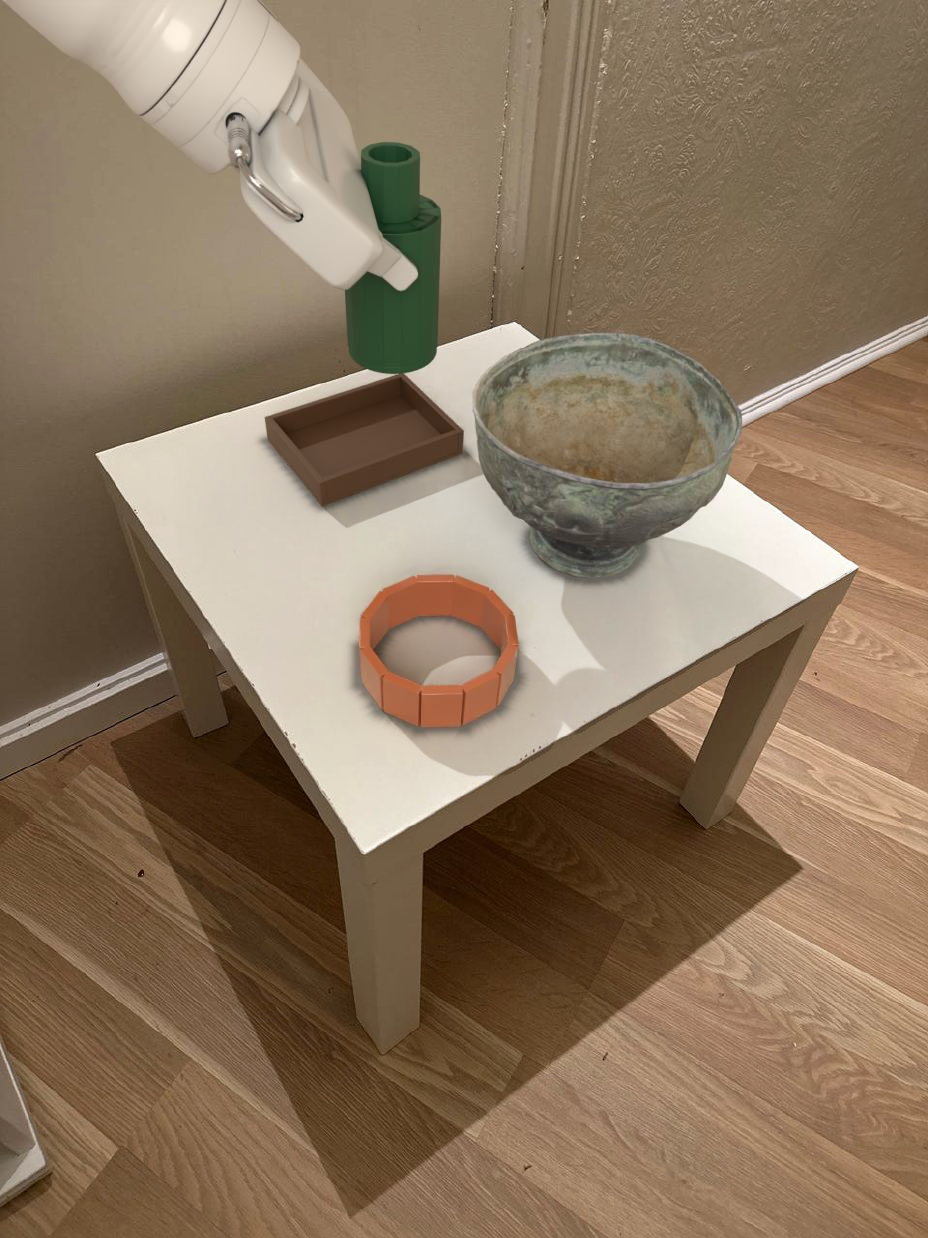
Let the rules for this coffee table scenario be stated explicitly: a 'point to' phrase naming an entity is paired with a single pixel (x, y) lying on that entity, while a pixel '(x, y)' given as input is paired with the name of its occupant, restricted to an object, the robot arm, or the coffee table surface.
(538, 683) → the coffee table surface
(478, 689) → the orange ring
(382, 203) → the bottle
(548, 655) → the coffee table surface
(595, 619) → the coffee table surface
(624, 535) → the bowl
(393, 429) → the tray
